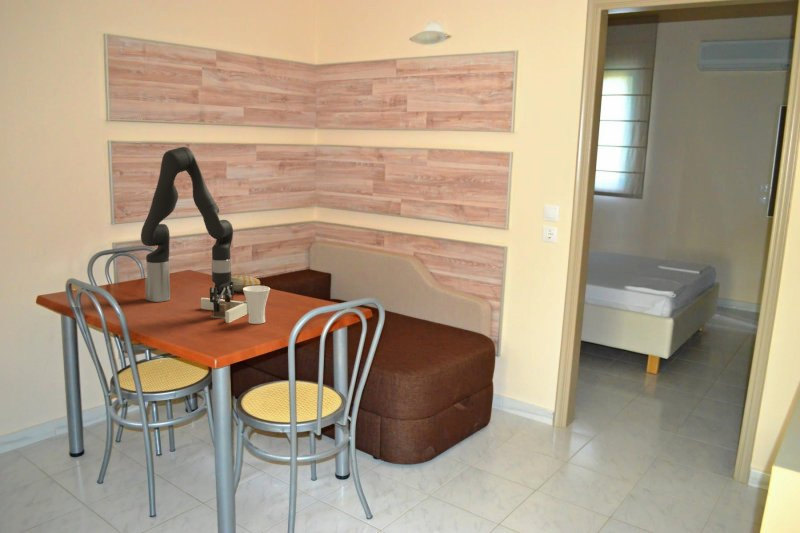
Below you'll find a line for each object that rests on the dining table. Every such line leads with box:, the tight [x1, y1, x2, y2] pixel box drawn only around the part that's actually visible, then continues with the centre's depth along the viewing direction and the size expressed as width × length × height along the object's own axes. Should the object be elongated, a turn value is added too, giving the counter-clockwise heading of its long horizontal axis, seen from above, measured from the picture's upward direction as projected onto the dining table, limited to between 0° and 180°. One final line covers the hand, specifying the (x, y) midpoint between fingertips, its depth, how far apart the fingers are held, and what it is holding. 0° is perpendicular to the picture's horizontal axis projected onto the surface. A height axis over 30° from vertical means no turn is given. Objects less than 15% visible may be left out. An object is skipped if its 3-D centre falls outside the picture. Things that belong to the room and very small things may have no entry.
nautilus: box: [231, 274, 261, 293], centre depth 313 cm, size 8×22×15 cm
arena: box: [200, 297, 249, 324], centre depth 268 cm, size 22×16×5 cm
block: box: [213, 301, 231, 317], centre depth 267 cm, size 5×5×5 cm
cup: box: [243, 285, 271, 325], centre depth 259 cm, size 10×10×14 cm
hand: (222, 309), depth 268 cm, fingers open, 8 cm apart
